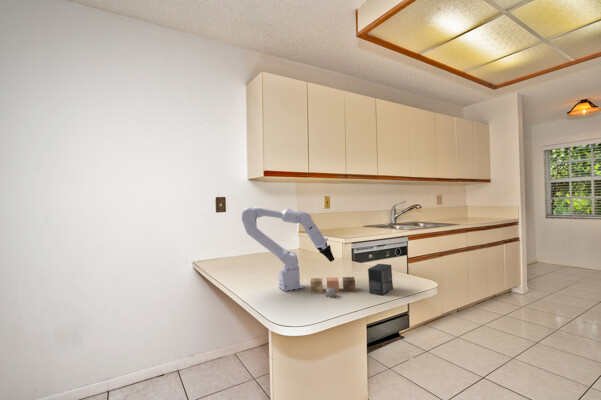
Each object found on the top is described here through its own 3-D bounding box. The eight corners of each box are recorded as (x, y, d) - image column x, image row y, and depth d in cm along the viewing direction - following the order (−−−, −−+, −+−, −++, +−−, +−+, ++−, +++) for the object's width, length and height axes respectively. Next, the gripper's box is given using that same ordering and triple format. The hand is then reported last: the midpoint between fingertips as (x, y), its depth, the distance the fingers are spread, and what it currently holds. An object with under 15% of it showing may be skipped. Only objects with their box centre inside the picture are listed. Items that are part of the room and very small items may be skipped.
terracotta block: (327, 292, 127) (326, 280, 127) (327, 288, 132) (326, 277, 132) (339, 292, 127) (338, 280, 127) (338, 288, 132) (337, 277, 132)
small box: (379, 286, 131) (378, 263, 131) (393, 288, 127) (392, 264, 127) (368, 293, 123) (367, 268, 123) (383, 295, 119) (381, 269, 119)
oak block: (311, 292, 128) (310, 281, 128) (311, 289, 133) (311, 278, 133) (322, 292, 127) (321, 281, 127) (322, 289, 132) (322, 277, 132)
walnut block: (343, 292, 126) (343, 280, 126) (343, 288, 131) (342, 277, 131) (355, 291, 126) (355, 280, 126) (354, 288, 131) (354, 276, 131)
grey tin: (329, 298, 119) (328, 291, 119) (324, 295, 123) (324, 288, 123) (337, 296, 121) (337, 289, 121) (332, 294, 125) (332, 286, 125)
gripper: (324, 231, 130) (341, 257, 131) (320, 228, 145) (335, 251, 145) (311, 240, 130) (328, 266, 130) (308, 236, 144) (323, 259, 145)
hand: (331, 259), depth 138 cm, fingers open, 7 cm apart
